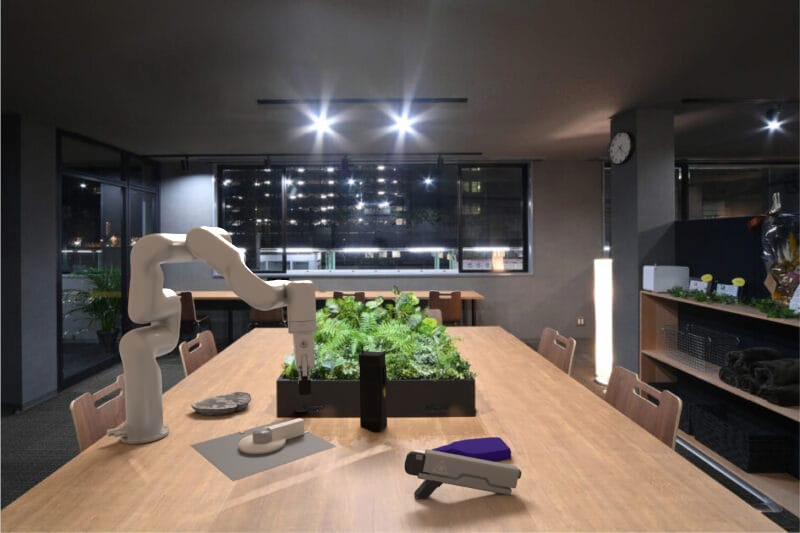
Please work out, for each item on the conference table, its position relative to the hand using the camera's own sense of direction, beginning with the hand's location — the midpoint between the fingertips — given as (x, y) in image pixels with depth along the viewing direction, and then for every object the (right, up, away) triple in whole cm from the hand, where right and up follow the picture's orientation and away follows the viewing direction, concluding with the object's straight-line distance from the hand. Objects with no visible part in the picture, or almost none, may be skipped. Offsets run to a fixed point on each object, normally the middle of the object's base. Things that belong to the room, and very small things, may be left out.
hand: (305, 393), depth 132 cm
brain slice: (-34, -14, +34) cm, 50 cm away
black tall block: (+18, -14, +13) cm, 27 cm away
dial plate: (-11, -15, -2) cm, 18 cm away
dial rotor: (-9, -13, 0) cm, 16 cm away
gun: (+39, -15, -27) cm, 50 cm away
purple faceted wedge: (+41, -15, -7) cm, 44 cm away
